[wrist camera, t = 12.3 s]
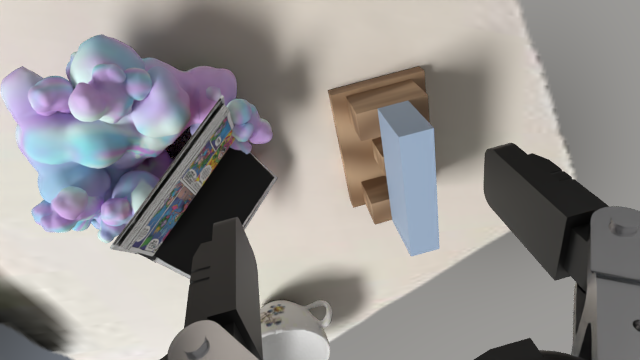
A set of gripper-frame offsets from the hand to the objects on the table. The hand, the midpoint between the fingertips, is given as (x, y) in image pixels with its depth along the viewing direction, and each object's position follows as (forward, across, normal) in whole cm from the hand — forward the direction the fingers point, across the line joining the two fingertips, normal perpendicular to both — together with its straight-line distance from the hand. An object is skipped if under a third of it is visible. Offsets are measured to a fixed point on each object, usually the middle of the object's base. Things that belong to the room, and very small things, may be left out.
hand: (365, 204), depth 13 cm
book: (+30, +14, +8) cm, 34 cm away
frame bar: (+24, -8, +16) cm, 30 cm away
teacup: (+30, +10, +40) cm, 51 cm away
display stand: (+30, -8, +16) cm, 35 cm away
